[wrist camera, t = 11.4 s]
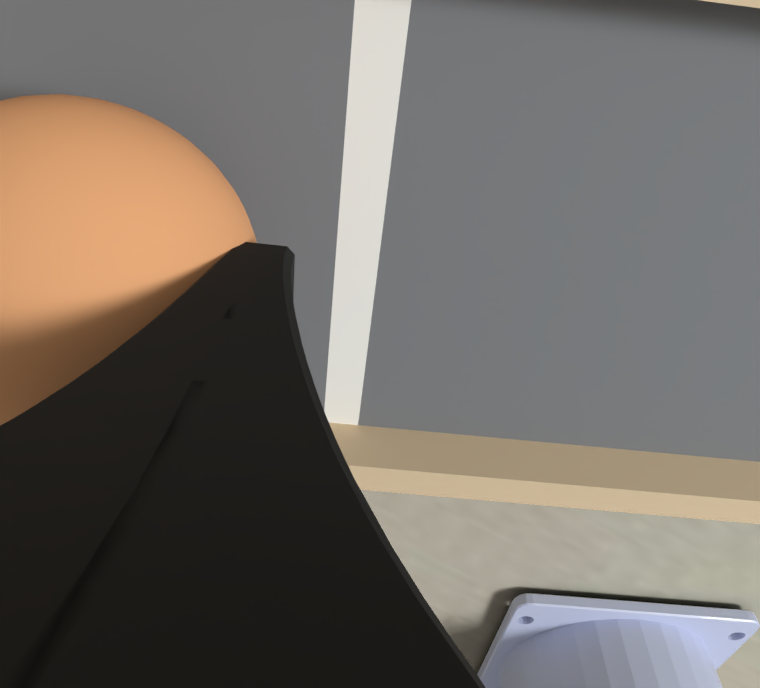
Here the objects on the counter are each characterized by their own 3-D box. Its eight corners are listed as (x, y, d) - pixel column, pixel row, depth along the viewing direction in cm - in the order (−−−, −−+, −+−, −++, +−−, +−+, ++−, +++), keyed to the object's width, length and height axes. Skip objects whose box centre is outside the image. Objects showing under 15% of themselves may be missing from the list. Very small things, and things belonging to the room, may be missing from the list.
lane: (807, 470, 16) (861, 554, 14) (-80, 389, 15) (-148, 469, 13) (1219, -17, 9) (1432, 23, 7) (-391, -240, 8) (-635, -263, 6)
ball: (112, 344, 13) (335, 309, 12) (-60, 542, 9) (249, 522, 8) (-34, 102, 10) (232, 19, 9) (-369, 227, 6) (18, 111, 5)
